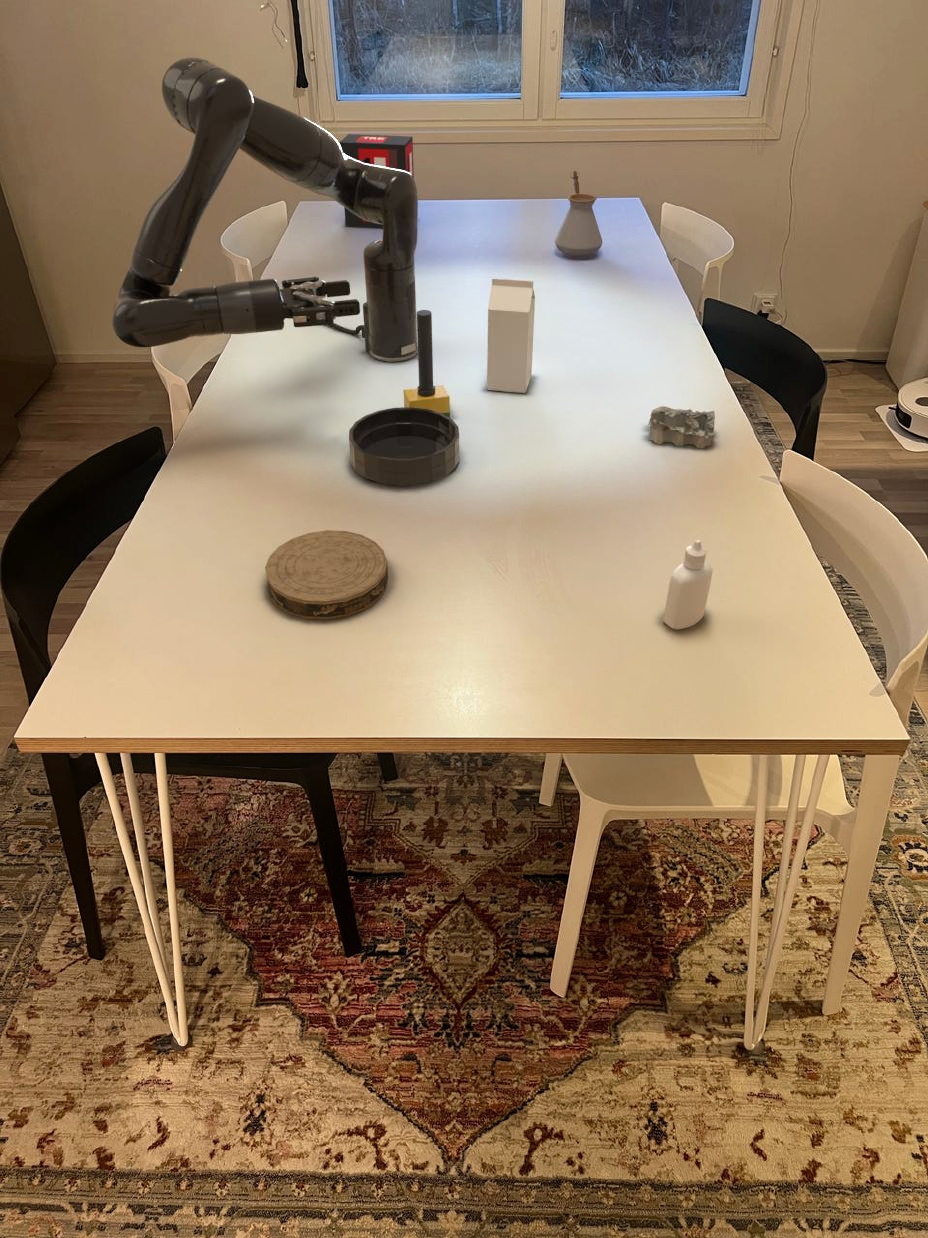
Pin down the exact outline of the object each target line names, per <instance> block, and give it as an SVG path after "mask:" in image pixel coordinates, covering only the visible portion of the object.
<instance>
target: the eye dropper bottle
mask: <svg viewBox="0 0 928 1238" xmlns="http://www.w3.org/2000/svg"><path fill="white" fill-rule="evenodd" d="M706 558H707V549H706V548H704V546H702V540H701V539H698V538H697V539H694V542H693V544H692V545H688V546H687V547H686V548H685V552H684V557H683V562H682V563H681V564H679V565H678V566H677V567H676V568H675V569H674V571H673V572H672V573H671V576H670V579H669V584H668V589H667V594H666V601H665V606H664V612H663V617H662V620H663V623H664V624H666V625H667V626H668V627H670V628H671V629H672V630H675V631H676V630H682V629H683V630H684V629H688V628H690V627H693V626H694V625H696V624H698V623H699V622H700V621H701V619H702V618H703V617H704V615H705V611H706V608H707V607H706V606H707V602H708V597H709V592H710V587H711V583H712V577H713V567H712V566H711V565H710V564H709V563H708V562H707V561H706Z"/></svg>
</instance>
